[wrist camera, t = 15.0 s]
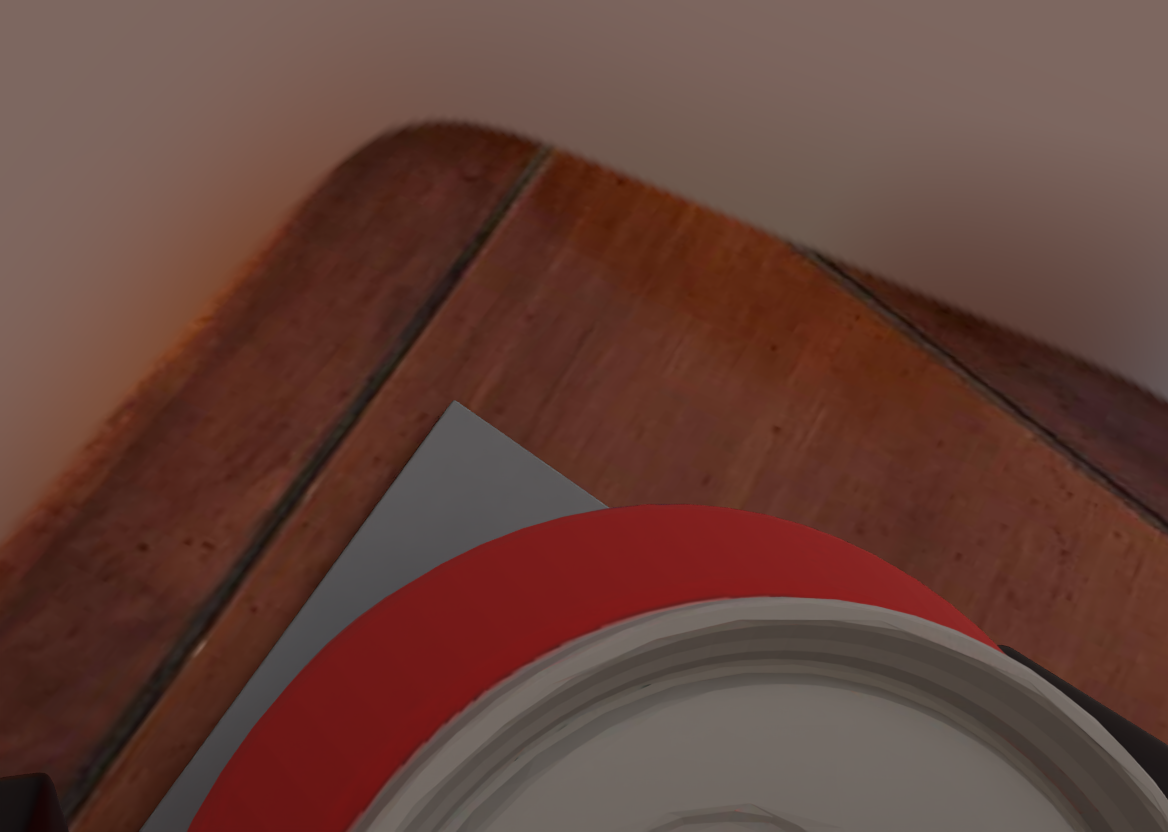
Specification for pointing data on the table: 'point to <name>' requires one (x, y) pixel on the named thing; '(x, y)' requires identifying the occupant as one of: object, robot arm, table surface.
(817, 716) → the beverage can
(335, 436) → the table surface
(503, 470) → the grey mat
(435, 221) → the table surface
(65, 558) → the table surface
